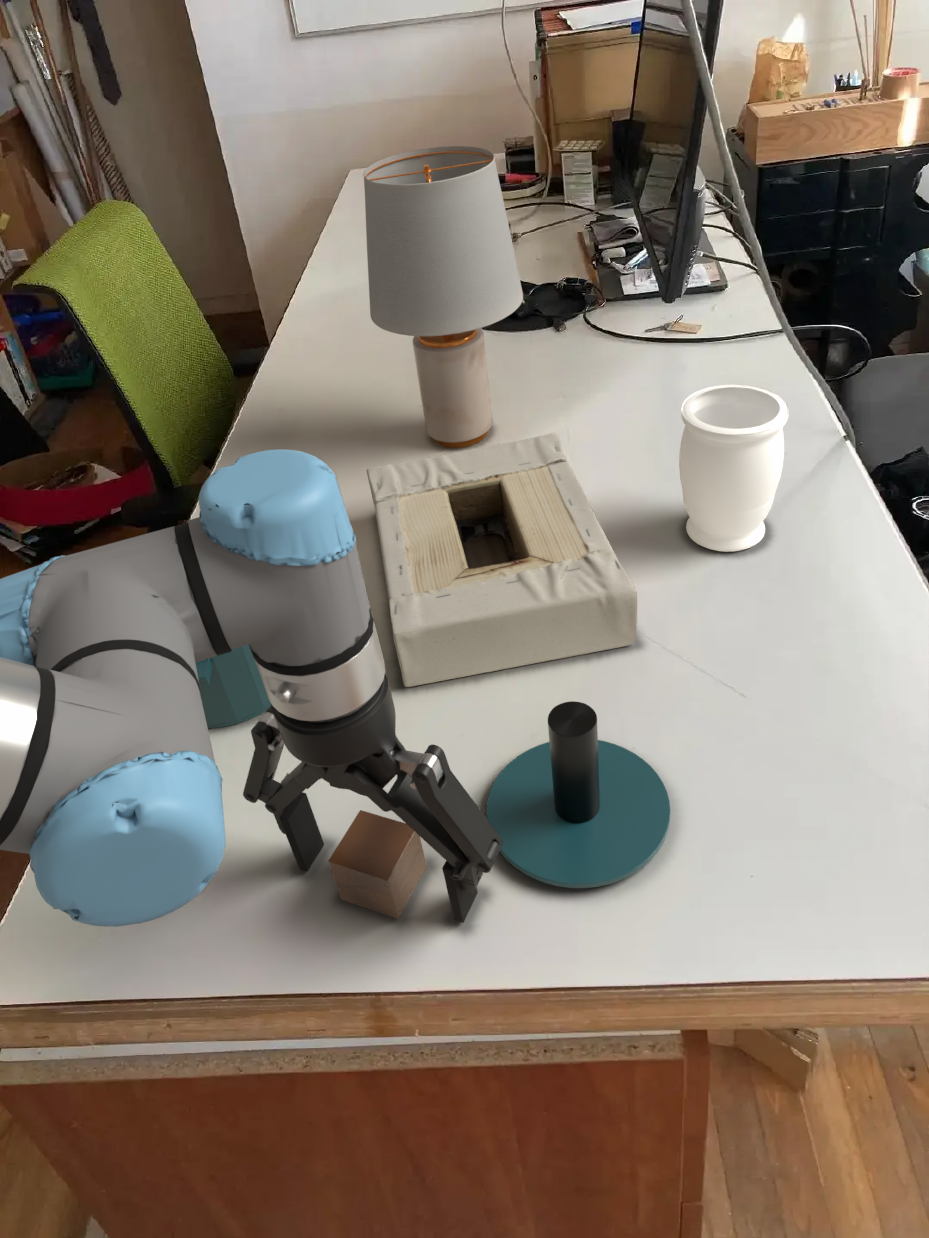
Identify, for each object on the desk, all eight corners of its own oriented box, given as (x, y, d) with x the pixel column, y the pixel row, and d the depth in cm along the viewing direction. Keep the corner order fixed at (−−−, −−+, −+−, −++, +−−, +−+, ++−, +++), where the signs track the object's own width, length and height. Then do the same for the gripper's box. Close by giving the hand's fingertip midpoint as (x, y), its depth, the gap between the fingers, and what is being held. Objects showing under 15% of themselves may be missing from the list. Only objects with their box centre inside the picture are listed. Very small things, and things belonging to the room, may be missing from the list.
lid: (501, 907, 69) (486, 812, 62) (477, 761, 81) (463, 667, 73) (693, 876, 70) (700, 778, 62) (643, 735, 81) (644, 638, 74)
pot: (147, 759, 85) (111, 685, 79) (175, 628, 100) (146, 557, 94) (294, 736, 85) (268, 660, 79) (300, 609, 100) (279, 536, 94)
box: (642, 646, 90) (559, 479, 114) (642, 584, 85) (555, 422, 109) (406, 698, 88) (373, 517, 113) (392, 638, 83) (361, 462, 108)
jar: (659, 519, 105) (662, 398, 96) (741, 495, 107) (751, 374, 98) (707, 569, 97) (715, 443, 88) (794, 543, 99) (811, 416, 90)
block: (341, 899, 71) (327, 861, 68) (371, 848, 75) (360, 809, 72) (398, 919, 70) (387, 880, 66) (427, 866, 73) (417, 826, 70)
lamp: (545, 455, 119) (527, 172, 97) (399, 480, 118) (349, 201, 97) (518, 391, 134) (497, 133, 112) (388, 413, 133) (342, 157, 111)
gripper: (136, 684, 61) (228, 874, 74) (486, 776, 51) (518, 974, 65) (204, 613, 66) (278, 803, 79) (534, 685, 56) (554, 886, 70)
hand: (386, 880), depth 72 cm, fingers open, 13 cm apart
